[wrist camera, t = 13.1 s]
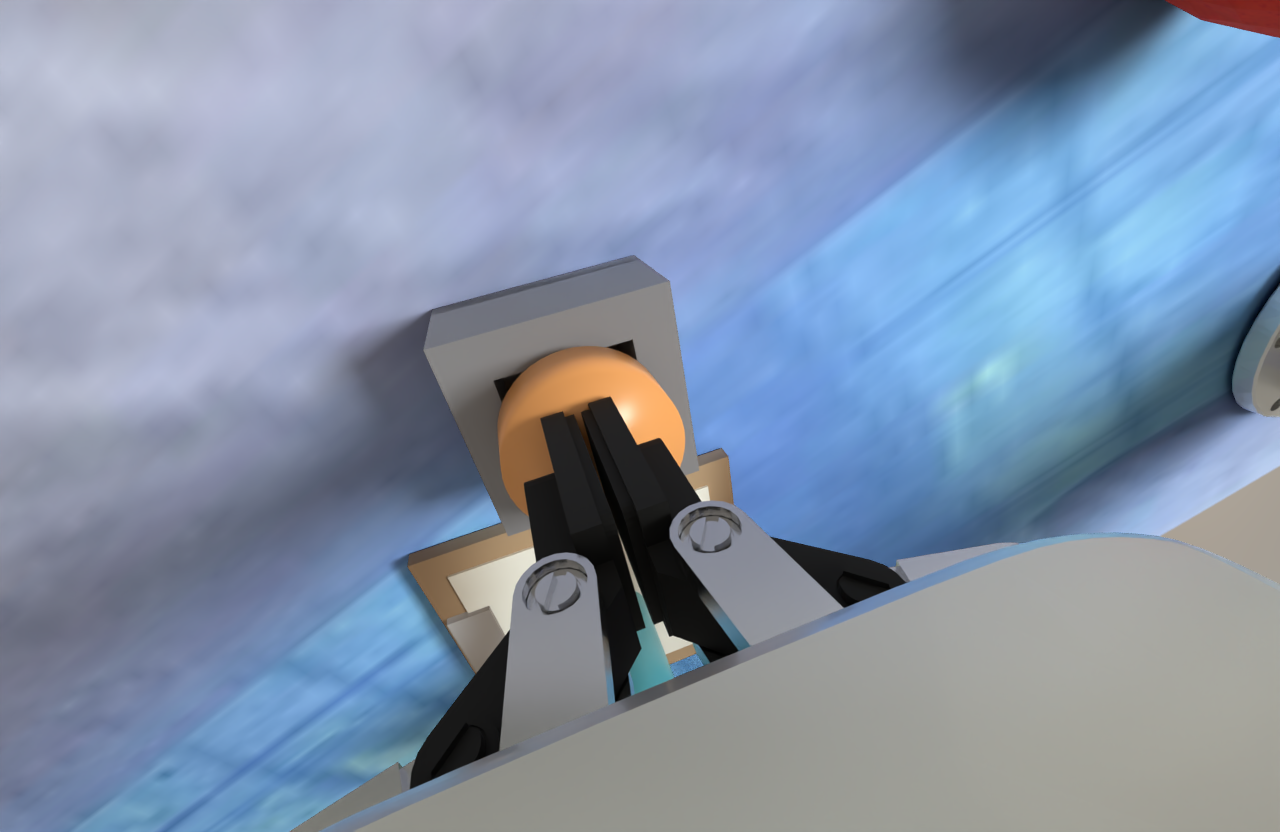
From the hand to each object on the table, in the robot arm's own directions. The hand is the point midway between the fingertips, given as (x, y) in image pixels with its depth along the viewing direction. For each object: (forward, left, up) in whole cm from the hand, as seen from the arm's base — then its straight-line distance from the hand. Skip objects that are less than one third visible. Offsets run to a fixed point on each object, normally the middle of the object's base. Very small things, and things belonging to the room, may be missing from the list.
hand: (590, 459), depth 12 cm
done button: (0, 0, -4) cm, 4 cm away
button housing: (0, 0, -5) cm, 5 cm away
